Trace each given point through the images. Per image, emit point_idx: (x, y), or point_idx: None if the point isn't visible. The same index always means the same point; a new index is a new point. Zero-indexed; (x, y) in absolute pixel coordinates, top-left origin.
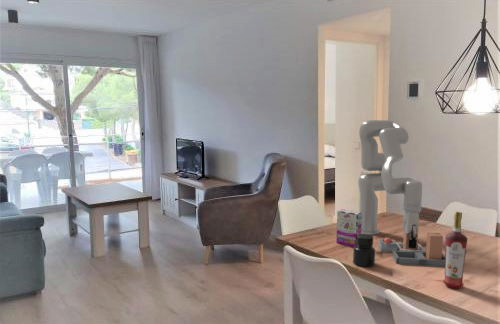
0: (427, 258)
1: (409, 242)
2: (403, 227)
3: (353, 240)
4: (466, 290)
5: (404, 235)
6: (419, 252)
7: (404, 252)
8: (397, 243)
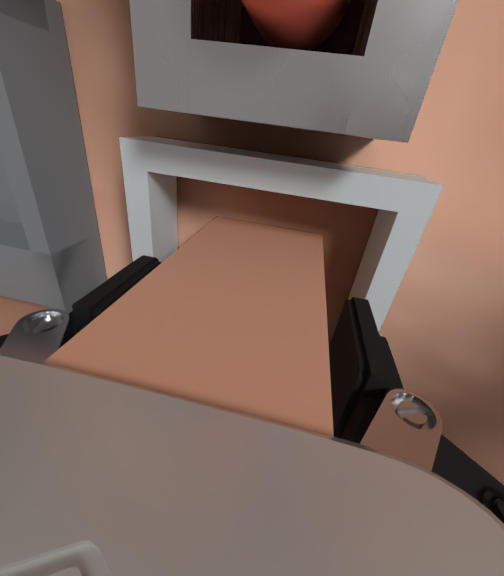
0: (3, 302)
1: (106, 287)
2: (353, 500)
3: None
4: None
5: (264, 323)
6: (45, 293)
7: (7, 148)
8: (388, 201)
